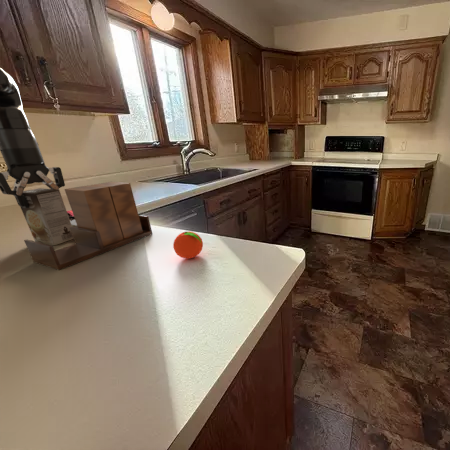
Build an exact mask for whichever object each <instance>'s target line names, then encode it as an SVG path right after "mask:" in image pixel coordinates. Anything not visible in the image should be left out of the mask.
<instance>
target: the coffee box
mask: <svg viewBox="0 0 450 450" xmlns="http://www.w3.org/2000/svg"><path fill="white" fill-rule="evenodd" d="M22 195H24V196H25V198H26V201H27V203H28V205H29V208H23V207H21V206H19V207H20V209H21V212H22V214H23V217H24V220H25V221H26V223H27V226H28V229H29V231H30V233H31V236H32V238H33V241H35V242H39V243H43V244H47V245H51V246H57V245H60V244H64V243H66V242H69V241H72V240H74V238H73V235H72V232H71V230H70V228H71V227H72V225H71V222H70V221H71V219H69V216H68V213H67V211H68V210H67V208H66V205H65V202H64V200H63V196H62V194H61V191H60V189H59V190H56V189H50V188H44V187H43V188H42V187H39V188H34V189H28V190H27V189H26V190H24V191H23V194H22Z"/></svg>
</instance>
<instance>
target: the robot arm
mask: <svg viewBox="0 0 450 450" xmlns="http://www.w3.org/2000/svg"><path fill="white" fill-rule="evenodd" d="M0 154H1V156H2V158H3V161H4V163H5V165H6V171H1V172H0V192H1V193H2V194H3V195H7V196H8V195H9V196H13V197H14V198H15V201H16V203H17V205H18V206H19V207H20V206H21V207H23V208H29V205H28V203H27V201H26V198H25V196H24V195H22V194H23V191H25V189H26V187H27V185H32V184H35V183H36V184H40V183H42V184H43V185H45V186H46V187H47V188H48V189H56V190H60V188H64V187H65V186H66V184H65V179H64V176H63V175H64V174H63V172H62V168H61V167H59V166H52V167H48V166H47V165H46V164H45V159H44V157H43V154H42V151H41V149H40V147H39V142H38V141H37V138H36V137H35V134H34V133H33V130H32V129H31V126H30V123H29V121H28V118H27V115H26V114H25V112H24V108H23V102H22V99H21V95H20V90H19V87H18V85H17V83H16V81H15V79H14V78H13V77H12V76H11V74H9V73H8V72H7V71H5V70H4V69H3V68H1V67H0ZM49 173H50V174H51V175H53V180H54V181H53V180H52V179H50V178H49V177H48V175H49ZM9 177H11V178H13V179H14V183H13V188H11V186H10V185H9V183H8V181H7V180H8V179H9ZM21 207H20V208H21Z"/></svg>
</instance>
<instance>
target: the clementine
mask: <svg viewBox="0 0 450 450" xmlns="http://www.w3.org/2000/svg"><path fill="white" fill-rule="evenodd" d="M172 246H173V247H172V248H173V251H174V252H175V254H176V255H177V256H179V257H180V258H183V259H193V258H195V257H197V256H198V255H200V253H201V252H202V251H203V248H204V241H203V239H202V237H201V236H200V235H199V234H198V233H197V232H194V231H190V230H189V231H184V232H180V233H179V234H178V235H177V236H176V237H175V239H174V240H173V243H172Z"/></svg>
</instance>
